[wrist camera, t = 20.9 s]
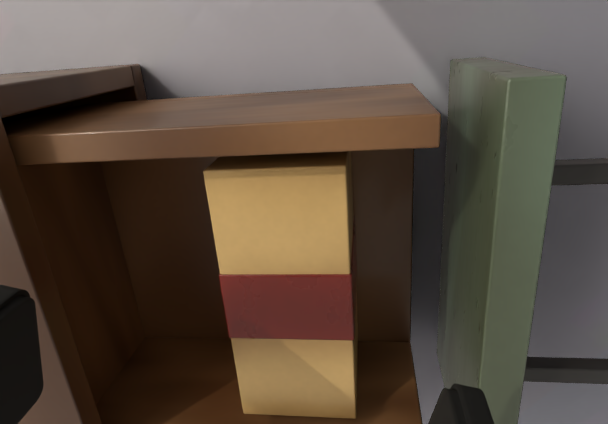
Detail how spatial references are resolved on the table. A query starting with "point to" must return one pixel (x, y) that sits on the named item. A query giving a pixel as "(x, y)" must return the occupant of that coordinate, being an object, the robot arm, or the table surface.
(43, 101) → the cabinet
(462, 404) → the robot arm
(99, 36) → the table surface
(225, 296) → the banded wooden block
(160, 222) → the drawer
